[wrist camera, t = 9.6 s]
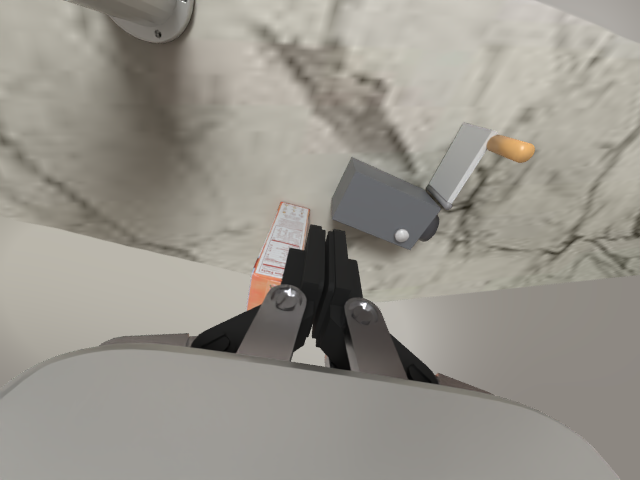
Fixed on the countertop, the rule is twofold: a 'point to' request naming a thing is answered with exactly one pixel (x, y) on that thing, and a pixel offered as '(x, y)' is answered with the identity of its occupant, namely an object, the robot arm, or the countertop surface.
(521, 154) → the grey blade tan handle
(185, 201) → the countertop surface
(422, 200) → the block
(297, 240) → the cracker box
